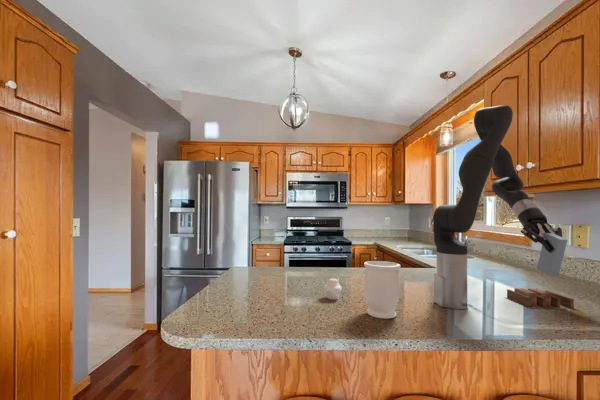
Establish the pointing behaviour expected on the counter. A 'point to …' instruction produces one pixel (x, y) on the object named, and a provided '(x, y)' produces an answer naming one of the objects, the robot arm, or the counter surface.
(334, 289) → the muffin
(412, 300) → the counter surface
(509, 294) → the rack
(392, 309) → the jar
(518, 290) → the offcut
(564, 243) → the tall board
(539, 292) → the offcut
